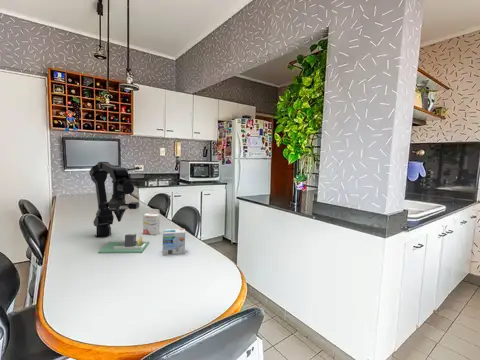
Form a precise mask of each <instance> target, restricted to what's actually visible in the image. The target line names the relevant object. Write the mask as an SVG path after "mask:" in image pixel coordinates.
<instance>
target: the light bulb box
mask: <svg viewBox="0 0 480 360" xmlns="http://www.w3.org/2000/svg"><path fill="white" fill-rule="evenodd" d="M185 251H186V229H185V228H171V229H170V228H169V229H167V228H166V229H163V231H162V256H166V255H168V256H169V255H183V254H184V255H185Z"/></svg>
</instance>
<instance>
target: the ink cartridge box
mask: <svg viewBox="0 0 480 360" xmlns="http://www.w3.org/2000/svg"><path fill="white" fill-rule="evenodd" d="M160 213H161V212H160V209H159V208H158V209H157V208H147V209H146V213H145V214H143V220H142V221H143V223H142V226H143V227H142V231H143V232H142V234H143V235H150V236H151V235H152V236H156V235H159V234H160V228H161V227H160V224H161V221H160V219H161V215H160Z"/></svg>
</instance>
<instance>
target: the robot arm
mask: <svg viewBox="0 0 480 360" xmlns="http://www.w3.org/2000/svg"><path fill="white" fill-rule="evenodd" d="M108 174H109V177H110V178H111V184H112V194H111V198H110V200H108V199H107V192H106V191H107V190H106V183H105V182H106V180H107V178H108ZM89 176H90V179H91V181H92V182H93V183H94V184H95V191H96V198H97V208H98V209H97V211H96V212H95V218H94V219H93V221H92V222H93V226H94V227H96V235H95V236H94V237H96V238H108V237H109V236H110V235H111V234H112V226H111V225H113V223H114V215H115V218H116V220H117V221H118V223H119V222H121V221H122V219H123V216H124V213H125V212H126V210H128V209H129V210H137V209H139V207H140V203H139V201H131V202H128V203H127V200H126V196H127V195H131V194H133V192H134V190H135V185H134V184H133V183H131V176H130V175H129V172H128V170H127V169H126V168H125V167H117V166H115V165H114V164H111V163H110V162H109V161H99V162H97V164H95V165H93V166H92V167H91V168H90V169H89ZM113 213H114V214H113Z"/></svg>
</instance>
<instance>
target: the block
mask: <svg viewBox="0 0 480 360" xmlns="http://www.w3.org/2000/svg"><path fill="white" fill-rule="evenodd" d="M124 241H125V246H124V247H131V246H135V245H136V241H137V233H129V234H125V235H124Z"/></svg>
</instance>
